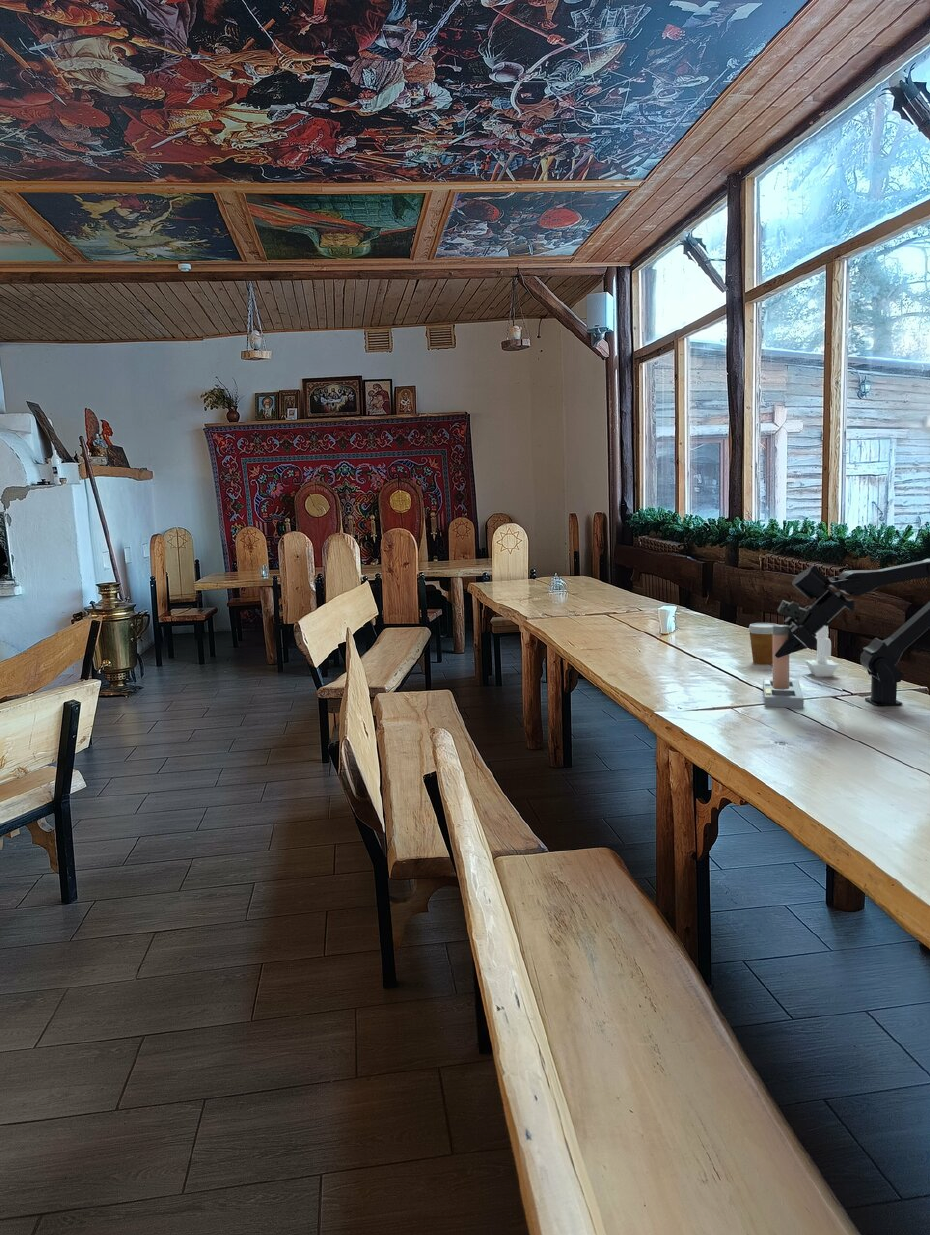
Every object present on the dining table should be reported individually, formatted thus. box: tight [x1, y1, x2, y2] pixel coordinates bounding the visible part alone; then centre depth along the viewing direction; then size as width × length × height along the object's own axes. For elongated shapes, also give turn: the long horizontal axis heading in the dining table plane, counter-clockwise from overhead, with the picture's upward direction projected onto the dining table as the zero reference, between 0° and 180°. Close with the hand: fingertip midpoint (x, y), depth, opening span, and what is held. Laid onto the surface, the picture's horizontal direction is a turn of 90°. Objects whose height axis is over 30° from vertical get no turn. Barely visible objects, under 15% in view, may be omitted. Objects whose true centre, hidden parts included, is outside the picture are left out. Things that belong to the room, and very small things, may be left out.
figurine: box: [804, 625, 840, 678], centre depth 231 cm, size 7×9×15 cm
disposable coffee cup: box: [747, 622, 779, 666], centre depth 251 cm, size 10×10×12 cm
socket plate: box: [762, 678, 805, 709], centre depth 209 cm, size 20×9×3 cm, turn 161°
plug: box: [772, 624, 790, 690], centre depth 204 cm, size 4×4×16 cm
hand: (775, 654), depth 204 cm, fingers closed on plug, 4 cm apart
